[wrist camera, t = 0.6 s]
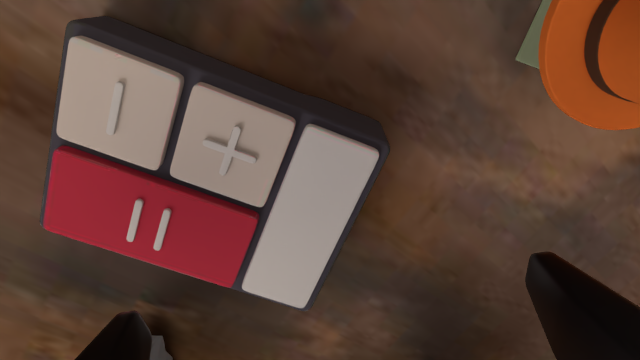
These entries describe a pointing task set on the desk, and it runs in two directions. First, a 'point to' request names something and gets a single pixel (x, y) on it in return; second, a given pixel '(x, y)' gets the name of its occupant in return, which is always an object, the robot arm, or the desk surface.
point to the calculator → (203, 164)
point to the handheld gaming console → (159, 349)
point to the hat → (593, 61)
